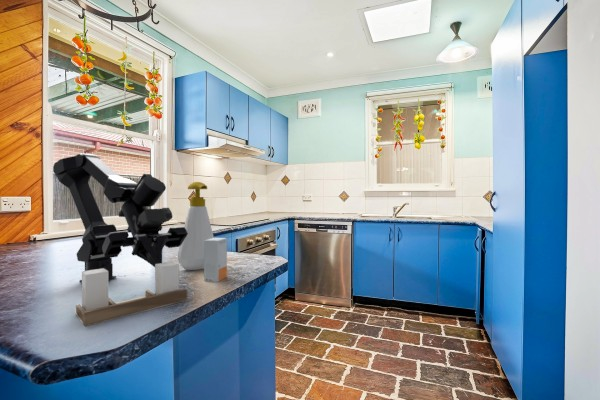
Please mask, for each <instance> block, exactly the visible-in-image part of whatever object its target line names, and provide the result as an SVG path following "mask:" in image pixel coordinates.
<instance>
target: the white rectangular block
mask: <svg viewBox="0 0 600 400" xmlns="http://www.w3.org/2000/svg"><path fill="white" fill-rule="evenodd" d="M154 268H155V269H154V270H155V272H154V277H155V278H154V281H155V283H154V285H155V286H154V287H155V288H154V294H156V295H158V294H162V293H167V292H171V291H175V290H180V263H179V262H174V261H167V262H162V263H159V264H155V267H154Z"/></svg>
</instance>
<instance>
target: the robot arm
mask: <svg viewBox="0 0 600 400" xmlns="http://www.w3.org/2000/svg"><path fill="white" fill-rule="evenodd" d="M52 167H53V168H52V171H53V173H54V175H55V176H56V178H57V180H58V182H59V183H60V184H62V185H63V186H65V187H67V189H69V192H70V194H71V197H72V199H73V201H74V204H75V207H76V209H77V213H78V215H79V217H80V220H81V222H82V224H83V227H84V230H85V231H84V233H83V236H82V239H81V242H82V244H81V246H80V247H79V249H78V251H77V252H76V259H77V261H78V262H83V263H84V271H88V270H95V269H102V268H104V269H106V270H107V271H108V281H110V280H114V279H117V275H113V271H114V270H113V265H114V264H113V262H112V261H113V260H112V259H113V258H118V256H119V255H120V253H122V250H123V249H122V248H125V247H132V251H131V255H132V256H137V257H138V258H141V259H142V260H144V261H146V262H147V263H148V264H149V265H151V266H152V267H154V268H155V264H159V263H163V249H164V247H167V248H169V249H171V248H179V246H180V245H181V244H182V243H183V241H184V239H185V238H186V236H187V234H188V232H187V230H186V229H185V227H184V226H177V227H175V226H174V227H169V229H168V231H167V232H164V233H163V232H161V231H162V229H163V226H162V225H163V224H165V223H167V222H169V221H170V220H172V218H173V213H172V210H171V208H170V207H162V208H151V207H153V206H155V204H156V203H157V202H158V200H160V198H161V196H162V195H163V193H165V191H166V190H167V189H166V187H167V186H166V184H165V183H164V182H162V181H161V180H160V179H158V178H156V177H154V176H152V174H151V173H149V174H148V173H143V174H142V175H141V177H140V179H139V181H138V182H136V181H133V180H131V179H129V178H126V177H124V176H121V175H119V174H118V173H117V172H115V171H114V170H113V169H112V168H111V167H109V165H107V164H106V163H105V162H104V161H103V160H101V157H100V156H98V155H96V154H91V153H89V154H88V153H84V152H83V153H79V154H76V155H72V156H68V157H64V158H61V159H58V160H57V161H55V162H54V164H53V166H52ZM91 177H92V178H93V179H94V180H95V181H96V182H98V183H99V184H100V185H101V186H102V187H103V191H102V192H103V194H104V196H105V197H106V198H107V200H108V201H109V202H110V203H113V204H122V205H121V209H120V211H119V212H118V217H120V218H124V219H125V222H126V223H127V226H128V227H127V229H126V230H125V231H118V229H117V227H116V226H115V224H113V223H112V224H107V223H106V222H105V220H104V218H103V215H102V213H101V211H100V208H99V206H98V203H97V201H96V198H95V195H94V194H93V191H92V189H91V186H90V184H89V182H90V179H91ZM148 207H150V208H148ZM159 232H161V233H159ZM129 233H131V236H130V237H129ZM79 283H82V279H80V280H79Z"/></svg>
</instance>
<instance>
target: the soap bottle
mask: <svg viewBox="0 0 600 400" xmlns="http://www.w3.org/2000/svg"><path fill="white" fill-rule="evenodd" d="M187 190H195V191H194V195H195V197H194V196H192V197H191V198H190V199H189V207H188V210H187V214H186V218H185V223H184V226H183V227H185V229H186V230H187V232H188V234H187V236H186V238H185V239H184V241H183V243H182V244H181V245H180V246H179V247H178V250H177V260H178V261H177V262H178V264H179V266H180V267H182V269H183V270H185V271H196V270H204V241H205V240H208V239H211V238H215V237H214V236H215V235H214V233H213V228H212V225H211V222H210V217H209V212H208V209H207V206H206V199H204V196H201V190H208V186H207V185H206V184H205V183H203V182H201V181H195V182H192V183H190V184H189V185H188V187H187Z"/></svg>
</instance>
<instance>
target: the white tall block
mask: <svg viewBox="0 0 600 400" xmlns="http://www.w3.org/2000/svg"><path fill="white" fill-rule="evenodd" d="M81 280H82V282H81V306H82V308H83V309H84V310H85V311H87V310H91V309H96V308H100V307H105V306H109V293H110V292H109V280H108V271H107V270H106V269H104V268H102V269H95V270H88V271H85V270H82V271H81Z"/></svg>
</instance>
